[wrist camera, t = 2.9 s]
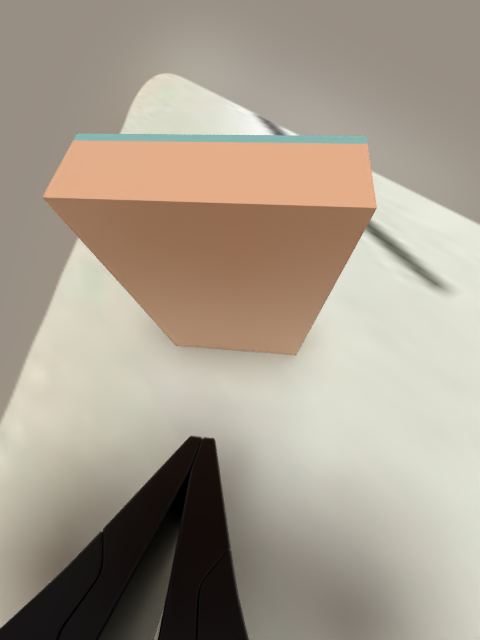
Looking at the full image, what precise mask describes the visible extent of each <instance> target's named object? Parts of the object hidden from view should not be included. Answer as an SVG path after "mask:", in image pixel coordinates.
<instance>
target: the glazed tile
mask: <svg viewBox="0 0 480 640" xmlns="http://www.w3.org/2000/svg"><path fill="white" fill-rule="evenodd" d="M43 199H44V200H45V201H46V202H47V203H48V204H49V205H50V206H51V207H52V209H53V210H54V211H55V212H56V213H57V214H58V215H59V216H60V217H61V218H62V220H63V221H64V222H65V223H66V224H67V225H68V226H69V227H70V228H71V230H73V232H74V233H75V234H76V235H77V236H78V237H79V238H80V240H81V241H82V242H83V243H84V244H85V245H86V246H87V247H88V248H89V250H90V251H91V252H92V253H93V254H94V255H95V256H96V257H97V258H98V260H99V261H100V262H101V263H102V264H103V265H104V266H105V267H106V268H107V270H108V271H109V272H110V273H111V274H112V275H113V276H114V277H115V278H116V279H117V281H118V282H119V283H120V284H121V285H122V286H123V287H124V288H125V289H126V291H127V292H128V293H129V294H130V295H131V296H132V297H133V298H134V299H135V301H136V302H137V303H138V304H139V305H140V306H141V307H142V308H143V309H144V311H145V312H146V313H147V314H148V315H149V316H150V317H151V318H152V319H153V321H154V322H155V323H156V324H157V325H158V326H159V327H160V328H161V329H162V330H163V332H164V333H165V334H166V335H167V336H168V337H169V338H170V339H171V340H172V342H173V343H174V344H175V345H176V346H189V347H202V348H214V349H227V350H239V351H252V352H265V353H277V354H290V355H296V354H297V352H298V351H299V349H300V347H301V345H302V343H303V341H304V340H305V338H306V336H307V334H308V332H309V331H310V329H311V327H312V325H313V323H314V321H315V320H316V318H317V316H318V314H319V312H320V310H321V309H322V307H323V305H324V303H325V301H326V300H327V298H328V296H329V294H330V292H331V290H332V289H333V287H334V285H335V283H336V281H337V279H338V278H339V276H340V274H341V272H342V270H343V269H344V267H345V265H346V263H347V261H348V259H349V258H350V256H351V254H352V252H353V250H354V249H355V247H356V245H357V243H358V241H359V239H360V238H361V236H362V234H363V232H364V230H365V228H366V227H367V225H368V223H369V221H370V219H371V218H372V216H373V214H374V212H375V210H376V208H377V206H376V199H375V192H374V186H373V179H372V172H371V166H370V159H369V152H368V145H367V140H366V136H274V135H166V134H77V135H76V136H75V138H74V140H73V142H72V144H71V146H70V147H69V149H68V151H67V153H66V155H65V157H64V159H63V160H62V162H61V164H60V166H59V168H58V170H57V171H56V173H55V175H54V177H53V179H52V181H51V183H50V184H49V186H48V188H47V190H46V192H45V194H44V195H43Z"/></svg>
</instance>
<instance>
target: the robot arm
mask: <svg viewBox="0 0 480 640" xmlns="http://www.w3.org/2000/svg"><path fill="white" fill-rule="evenodd" d="M230 549H231V547H230V540H229V533H228V526H227V519H226V512H225V505H224V498H223V491H222V484H221V477H220V470H219V463H218V456H217V449H216V442H215V439H214V438H206V437H204V438H203V439H202V437H197V436H190V437H189V438H188V439H187V440H186V441H185V442H184V443H183V444H182V445H181V446H180V448H179V449H178V450H177V451H176V452H175V453H174V454H173V455H172V456H171V457H170V458H169V459H168V460H167V461H166V462H165V464H164V465H163V466H162V467H161V468H160V469H159V470H158V471H157V472H156V473H155V474H154V475H153V476H152V477H151V478H150V480H149V481H148V482H147V483H146V484H145V485H144V486H143V487H142V488H141V489H140V490H139V491H138V492H137V493H136V494H135V496H134V497H133V498H132V499H131V500H130V501H129V502H128V503H127V504H126V505H125V506H124V507H123V508H122V509H121V510H120V512H119V513H118V514H117V515H116V516H115V517H114V518H113V519H112V520H111V521H110V522H109V523H108V524H107V525H106V526H105V528H104V529H103V532H102V531H101V532H100V533H99V534H98V535H97V536H96V537H95V538H94V539H93V540H92V541H91V542H90V543H89V544H88V545H87V546H86V548H85V549H84V550H83V551H82V552H81V553H80V554H79V555H78V556H77V557H76V558H75V559H74V560H73V561H72V562H71V563H70V564H69V565H68V566H67V567H66V568H65V569H64V570H63V571H62V572H61V573H60V574H59V575H57V576H56V577H55V578H54V579H53V580H52V581H51V582H50V583H49V584H48V585H47V586H46V587H45V588H44V589H43V590H42V591H41V592H39V593H38V594H37V595H36V596H35V597H34V598H33V599H32V600H31V601H30V602H29V603H28V604H26V605H25V606H24V607H23V608H22V609H21V610H20V611H19V612H18V613H17V614H16V615H15V616H13V617H12V618H11V619H10V620H9V621H8V622H7V623H6V624H5V625H4V626H3V627H1V628H0V640H153V639H154V636H155V633H156V629H157V626H158V623H159V620H160V616H161V613H162V610H163V607H164V611H163V616H162V621H161V627H160V632H159V637H158V640H249V638H248V634H247V630H246V626H245V622H244V618H243V613H242V609H241V604H240V600H239V596H238V590H237V584H236V579H235V573H234V567H233V560H232V553H231V550H230ZM165 600H166V601H165ZM164 603H165V606H164Z"/></svg>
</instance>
